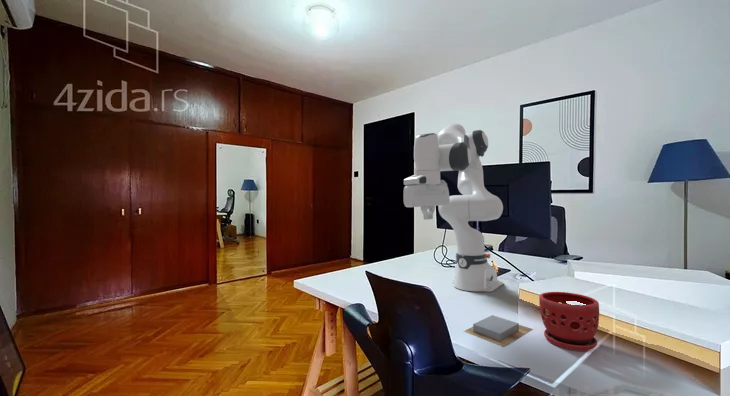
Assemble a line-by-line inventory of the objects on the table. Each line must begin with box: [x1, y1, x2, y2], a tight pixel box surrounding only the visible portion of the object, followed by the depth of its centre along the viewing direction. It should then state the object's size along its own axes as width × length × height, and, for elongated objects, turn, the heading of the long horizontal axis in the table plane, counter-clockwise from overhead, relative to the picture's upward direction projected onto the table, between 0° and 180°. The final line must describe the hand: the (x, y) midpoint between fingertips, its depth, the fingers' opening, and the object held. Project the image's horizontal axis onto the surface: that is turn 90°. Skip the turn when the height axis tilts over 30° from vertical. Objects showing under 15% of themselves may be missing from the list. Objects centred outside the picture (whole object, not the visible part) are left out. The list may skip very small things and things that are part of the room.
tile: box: [472, 315, 520, 341], centre depth 88 cm, size 2×8×10 cm
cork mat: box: [463, 324, 534, 348], centre depth 88 cm, size 16×12×1 cm
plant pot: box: [538, 291, 600, 352], centre depth 81 cm, size 13×13×12 cm
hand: (428, 219), depth 108 cm, fingers closed
